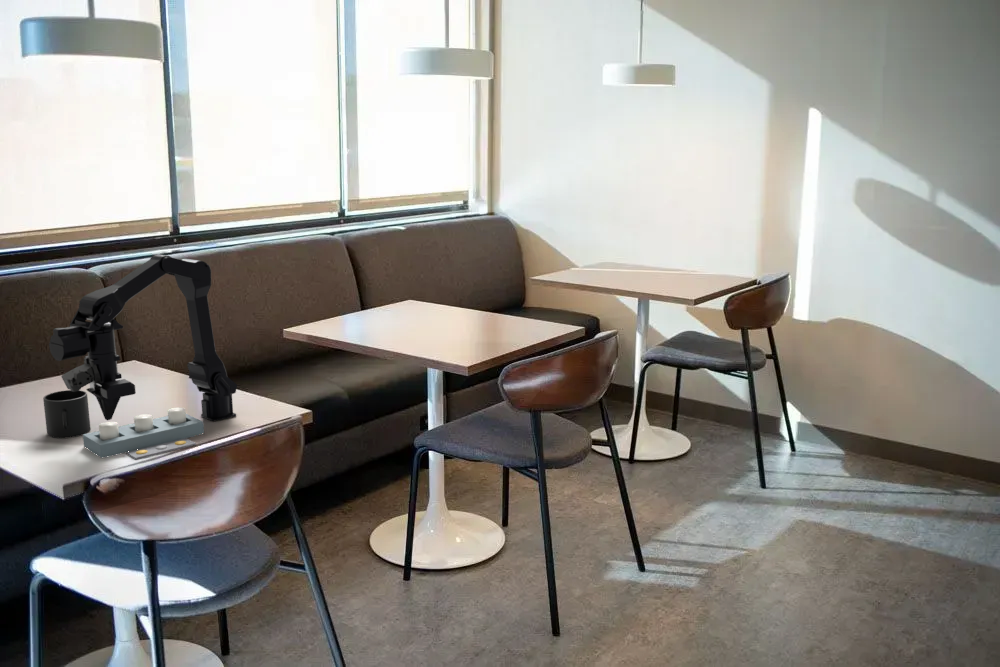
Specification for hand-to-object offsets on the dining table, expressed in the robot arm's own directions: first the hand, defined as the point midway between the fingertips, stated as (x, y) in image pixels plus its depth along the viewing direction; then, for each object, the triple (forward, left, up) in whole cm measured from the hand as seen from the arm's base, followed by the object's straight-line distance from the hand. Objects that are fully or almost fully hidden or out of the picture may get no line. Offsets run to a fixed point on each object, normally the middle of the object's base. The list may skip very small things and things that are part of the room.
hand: (108, 419), depth 217 cm
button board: (-8, 0, -7) cm, 10 cm away
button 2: (-16, 0, -5) cm, 17 cm away
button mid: (-8, 0, -5) cm, 9 cm away
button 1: (0, 0, -5) cm, 5 cm away
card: (-8, +9, -7) cm, 13 cm away
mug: (+3, -17, -7) cm, 19 cm away
